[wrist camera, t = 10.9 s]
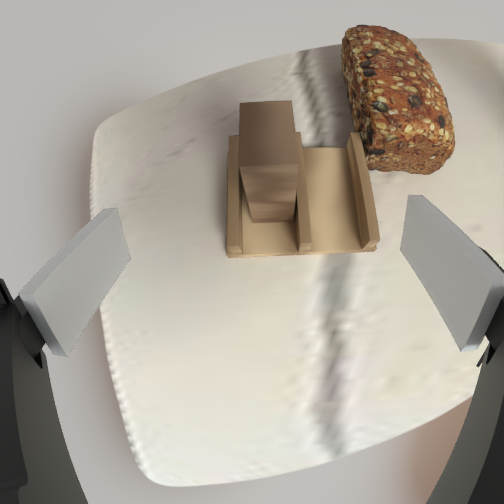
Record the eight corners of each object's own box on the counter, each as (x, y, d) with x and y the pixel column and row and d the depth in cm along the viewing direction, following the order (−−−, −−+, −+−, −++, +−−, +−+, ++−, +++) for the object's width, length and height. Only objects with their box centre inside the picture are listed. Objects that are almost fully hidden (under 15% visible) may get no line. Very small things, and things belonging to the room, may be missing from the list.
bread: (336, 68, 37) (344, 15, 27) (402, 76, 36) (420, 29, 26) (356, 174, 32) (378, 120, 23) (435, 181, 31) (474, 136, 22)
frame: (289, 169, 32) (291, 100, 21) (293, 221, 30) (298, 164, 20) (251, 171, 32) (238, 103, 22) (252, 223, 31) (237, 167, 20)
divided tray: (357, 152, 33) (364, 132, 29) (373, 251, 30) (386, 240, 26) (229, 156, 34) (223, 136, 30) (228, 257, 31) (221, 246, 27)
